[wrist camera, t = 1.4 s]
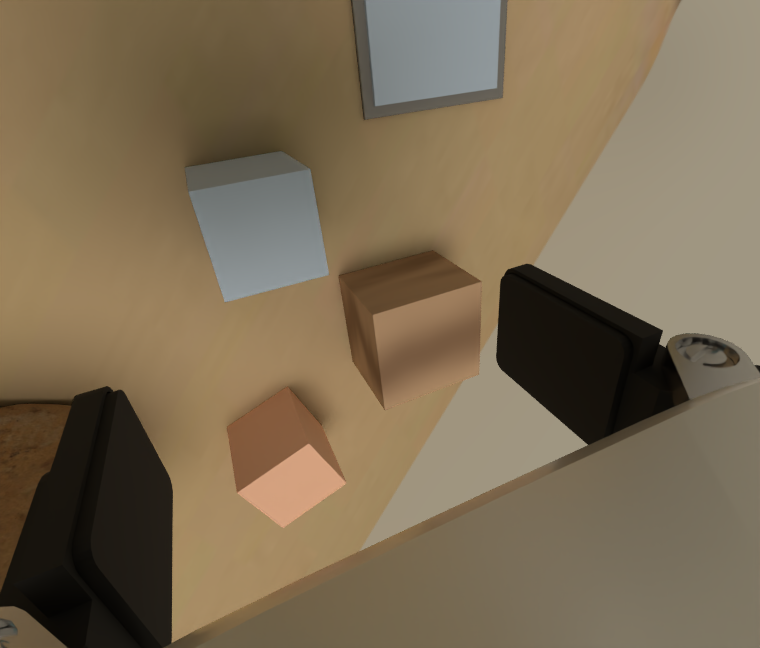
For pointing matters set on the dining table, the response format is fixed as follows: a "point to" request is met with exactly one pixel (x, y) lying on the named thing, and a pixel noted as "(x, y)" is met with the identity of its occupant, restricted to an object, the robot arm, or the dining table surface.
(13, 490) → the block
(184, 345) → the dining table surface
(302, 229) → the slate block
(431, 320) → the walnut block
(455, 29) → the swatch
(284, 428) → the terracotta block
